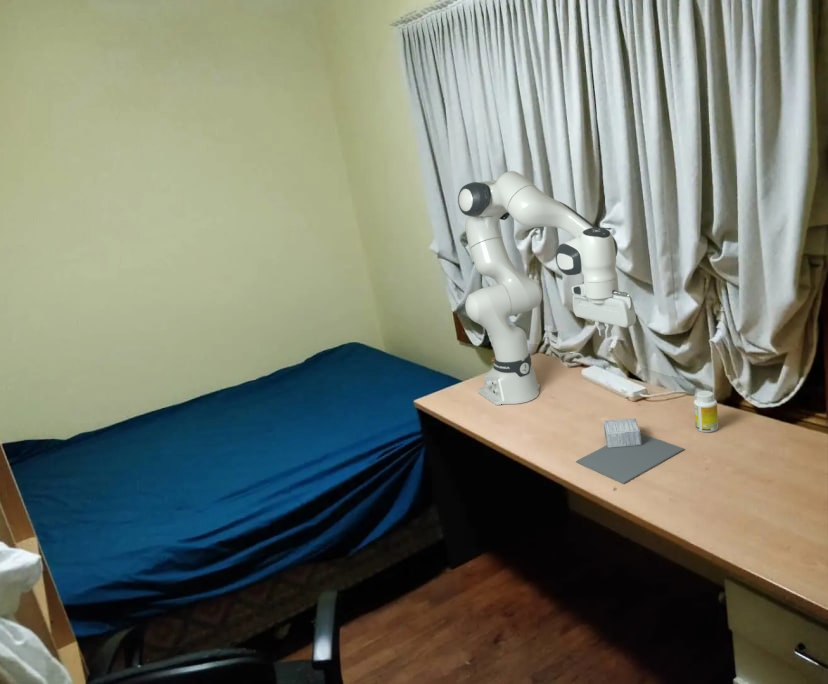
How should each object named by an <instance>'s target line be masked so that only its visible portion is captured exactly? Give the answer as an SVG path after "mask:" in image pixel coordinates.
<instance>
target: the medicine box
mask: <svg viewBox="0 0 828 684" xmlns="http://www.w3.org/2000/svg"><path fill="white" fill-rule="evenodd" d="M603 429H604V438H605V441H606V445H607V447H608V448H613V447H625V446H636V445H641V434H640V433H641V431H640V427H639V424H638V421H637V418H624V419H611V420H603Z"/></svg>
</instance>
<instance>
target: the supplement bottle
mask: <svg viewBox="0 0 828 684" xmlns="http://www.w3.org/2000/svg"><path fill="white" fill-rule="evenodd" d="M693 408H694V421H695V422H694V423H695V429H696V430H697V431H699V432H701V433H713V432H715V431H717V430H718V429H719V417H718V415H719V414H718V402H717V399H716V398H715V397H714V392H712V391H711V390H710V391H709V390H700V391H697V393H696V398H695V399H694V401H693Z"/></svg>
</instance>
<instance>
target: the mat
mask: <svg viewBox="0 0 828 684" xmlns="http://www.w3.org/2000/svg"><path fill="white" fill-rule="evenodd" d="M640 434H641V445H636V446H625V447H613V448H608V447H607V444H606V445H604V446H602V447H600V448H598V449H597V450H595V451H593V452H590V453H589V454H587V455H585V456H583V457H581V458H579V459H577V460H576V461H575V463H576V464H578V465H581V466H583V467H585V468H588V469H590V470H591V471H593V472H597V473H598V474H601V475H603V476H605V477H607V478H609V479H611V480H614V481H616V482H618V483H621V484H622V485H625V484H628V483H629V482H630V481H632V480H635V478H637V477H639V476H641V475H643V474H644V473H646V472H648V471H650V470H652V469H654V468H655V467H657V466H659V465H660V464H662V463H664V462H665V461H668V460H669V459H671V458H673V457H674V456H676V455H678V454H680V453H682V452H683V451H685V448H684V447H681V446H678V445H676V444H673V443H669V442H666V441H665V440H664V441H663V440H661V439H658V438H655V437H653V436H650V435H647V434H645V433H642V432H640Z"/></svg>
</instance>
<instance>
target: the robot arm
mask: <svg viewBox="0 0 828 684" xmlns="http://www.w3.org/2000/svg"><path fill="white" fill-rule="evenodd" d="M457 204H458V207H459V210H460V212H461V213H462V214H463V215H465V216H467V218H466V220H465V224H464V225H465V226H464V227H465V228H464V229H465V235H466V240H467V244H468V247H469V251H470V254H471V257H472V260H473V264H474V266H475V270H476V271H477V272H478V273H479V274H480V275H482V276H484V277H489V278H491V279H493V280H494V281H495V282H496V283H497V284H494V285H491V286H487V287H482V288H480V289H477V290H475V291H473V292H471V293H469V294H468V295H467V297H466V299H465V304H464V307H465V311H466V314H467V316H468V317H469V319H470V320H471V321H473V322H474V323H476V324H478V325H480V326H481V327H482V328H484V329H485V330H486V331H487V333H488V334H489V337H490V338H491V342H492V346H493V351H494V357H492V358H491V362H493V367H492V368H491V369H489V371H488V372H486V373H485V375H484V377H483V384H484V385H483V386H481V387H480V388H479V389H478V394H480V395H481V396H483V397H484V398H485V399H487V400H488V401H489V400H490V401H489V402H491V403H492V402H493V403H492V404H494V405H495V406H501V404H502V405H514V404H515V405H516V404H522V403H527V402H530V401H532V400H534V399H536V398H537V397H538V396H539V395H540V388H541V385H540V383H538V381H537V376H536V372H535V368H534V366H533V365H532V357H531V353H530V352H529V345H528V339H527V338H528V337H527V333H526V332H525V331H524V329H523V328H521V327H519V326H517V325H514V324H513V325H512V324H509V322H508V318H509V317H511V316H516V315H520V314H525V313H527V312H529V311H531V310H533V309H536V308H537V307H539V306H540V305H541V302H542V300H543V290H542V287H541V286H540V283H538V281H536V280H535V279H533V278H531V277H529V276H527V275H525V274H524V273H522V272H521V271H519V270H518V269H517V268H516V266H515V265H514V264H513V262H512V260H511V259H510V256H509V254H508V252H507V249H506V245H505V244H504V243H505V242H504V240H503V237H502V234H501V231H500V228H499V222H500V220H502V221H505V220H507V219H508V218H509V216H511V217H512V219H513V220H514V221H516V222H517V223H519V224H520V225H522V226H524V227H526V228H547V227H549V228H558V229H561V230H563V231H565V232H566V233H568V234H569V235H570V236H572V237H573V238H572V239H569V240H567V241H565V242H563V243H560V244H559V245H558V247H557V248H556V251H555V263H556V266H557V268H558V270H559V271H560V272H561V273H563V274H564V275H565V276H566V275H567V276H576V275H582V276H583V282H581V283H578V284H575V285H573V286H571V293H572V294H573V295H572V310H573V313H574V316H575V317H577V318H581V319H585V320H586V319H587V320H590V321H594V325H595V326H596V328H597V330H598V333H599V334H598V335H599V336H600V337H604V338H611V337H612V330H613V328H614V326H617V327H621V328H629V327H630V328H631V327H632V326H634V325H635V324H636V322H637V315H636V310H635V305H634V302H633V297H632V296H630V295H629V294H628V292H625V291H620V289H619V278H618V272H617V270H616V265H617V255H618V248H619V247H618V243H617V241H616V239H615V237H614V236H613V235H612V232H611V231H610V230H609V229H606V228H604V227H597V226H595V225H594V224H593V223H591V222H590V221H589V220H587V219H586V218H585V217H583V216H582V214H579V213H578V212H577V211H575V210H574V209H573V208H572V207H570V206H569V205H567V204H565V203H563V202H561V201H558V200H556V199H555V198H552V197H551V196H549V195H548V194H546V193H544V192H543V190H541V189H539V187H537V185H535V184H534V183H533V182H532V181H530V180H529V179H528V178H527V177H525V176H524V175H522V174H521V173H519V172H517V171H515V170H508V171H506V172H503V173H502V174H501V175H500V176H498V178H497V179H496V180H485V181H479V182H477V181H474V182H473V181H472V182H470V183H466V184H465V185H463V186H462V187H461V188H460V189H459V192H458V196H457Z"/></svg>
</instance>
